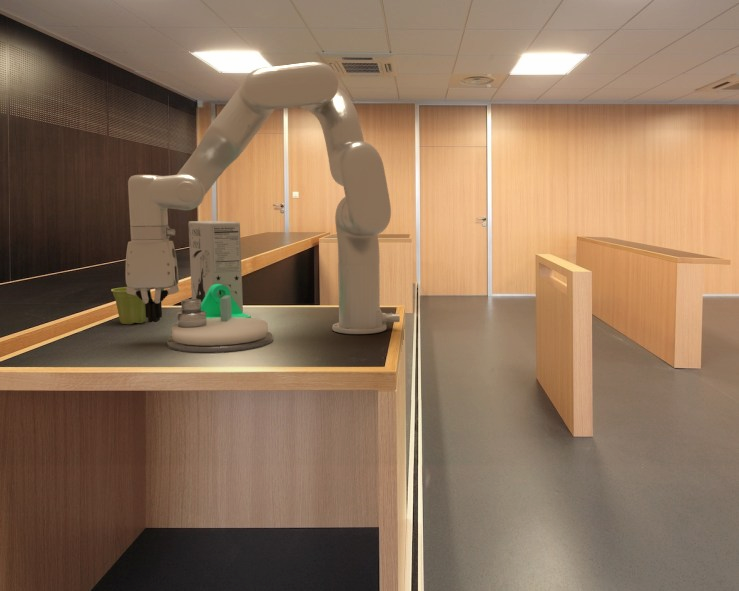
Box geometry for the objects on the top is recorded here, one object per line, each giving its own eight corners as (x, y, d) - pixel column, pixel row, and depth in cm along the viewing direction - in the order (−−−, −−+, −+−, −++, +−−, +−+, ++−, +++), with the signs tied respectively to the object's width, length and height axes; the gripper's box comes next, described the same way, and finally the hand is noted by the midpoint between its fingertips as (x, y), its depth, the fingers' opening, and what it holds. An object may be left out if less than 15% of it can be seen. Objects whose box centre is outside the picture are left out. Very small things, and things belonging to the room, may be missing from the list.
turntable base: (277, 331, 154) (277, 327, 154) (266, 352, 132) (266, 347, 132) (181, 333, 153) (181, 328, 153) (154, 353, 131) (154, 348, 131)
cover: (209, 322, 145) (208, 298, 144) (203, 327, 139) (202, 302, 138) (181, 323, 145) (180, 298, 144) (174, 328, 139) (173, 302, 138)
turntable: (272, 326, 153) (271, 294, 152) (261, 344, 133) (260, 308, 132) (184, 328, 152) (183, 296, 151) (160, 346, 132) (159, 309, 131)
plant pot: (105, 325, 165) (102, 290, 163) (127, 318, 174) (125, 285, 172) (138, 326, 162) (136, 291, 161) (159, 320, 171) (157, 286, 170)
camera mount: (204, 332, 155) (202, 288, 153) (194, 327, 161) (192, 285, 160) (252, 327, 161) (251, 285, 160) (241, 322, 168) (239, 282, 166)
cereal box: (192, 311, 185) (188, 221, 182) (218, 309, 189) (215, 220, 185) (214, 323, 166) (210, 222, 163) (243, 320, 170) (240, 222, 167)
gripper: (189, 233, 143) (193, 317, 146) (119, 234, 143) (124, 318, 145) (181, 235, 136) (185, 323, 138) (107, 235, 135) (112, 324, 138)
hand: (154, 321), depth 142 cm, fingers closed
